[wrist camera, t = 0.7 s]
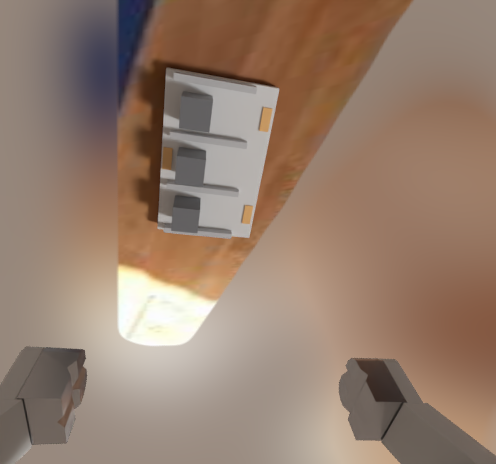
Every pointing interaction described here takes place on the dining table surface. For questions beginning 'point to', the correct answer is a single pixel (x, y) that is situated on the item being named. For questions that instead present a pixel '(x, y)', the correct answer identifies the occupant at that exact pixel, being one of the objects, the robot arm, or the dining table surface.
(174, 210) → the grey cube
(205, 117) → the gray cube
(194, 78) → the switch board
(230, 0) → the dining table surface
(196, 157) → the grey cubic block
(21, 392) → the robot arm
